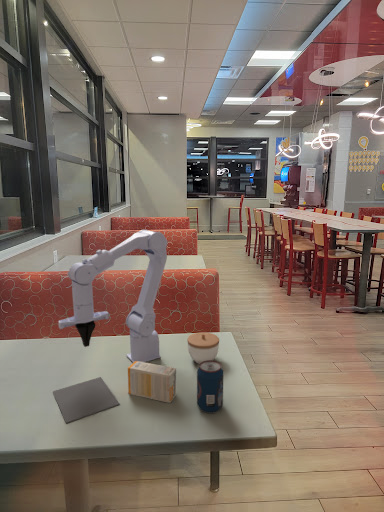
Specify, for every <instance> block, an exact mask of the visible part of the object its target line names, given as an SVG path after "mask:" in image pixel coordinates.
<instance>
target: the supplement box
mask: <svg viewBox="0 0 384 512" xmlns="http://www.w3.org/2000/svg"><path fill="white" fill-rule="evenodd" d="M127 379H128V380H127V383H128V386H127V387H128V388H127V389H128V394H129V395H133V396H136V397H137V396H138V397H140V398H145V399H146V398H147V399H151V400H154V401H158V402H162V403H163V402H165V403H166V404H167V403H168V404H171V402H172V401H173V400H174V399H175V396H177V367H176V368H175V367H170V366H166V365H160V364H155V363H149V362H139V361H135V362H134V363H133V362H132V363H131V364H130V365H129V366H127Z"/></svg>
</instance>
